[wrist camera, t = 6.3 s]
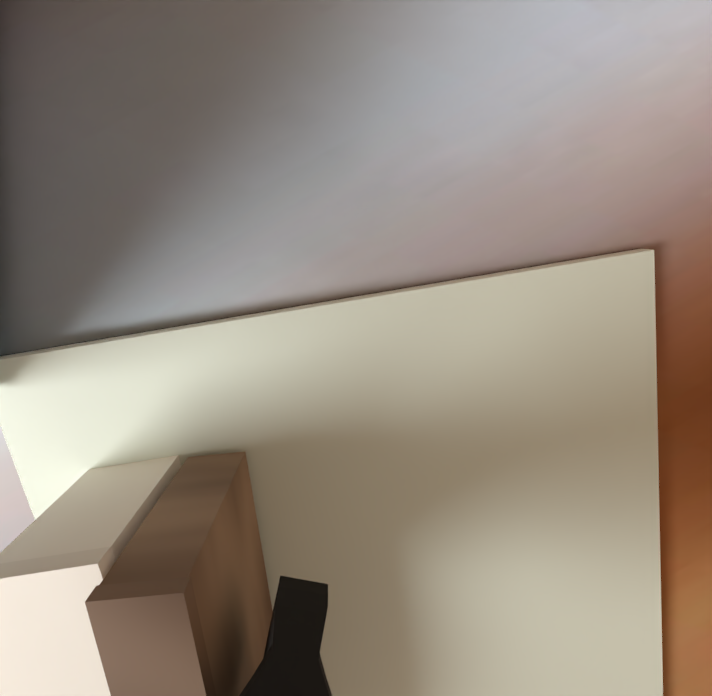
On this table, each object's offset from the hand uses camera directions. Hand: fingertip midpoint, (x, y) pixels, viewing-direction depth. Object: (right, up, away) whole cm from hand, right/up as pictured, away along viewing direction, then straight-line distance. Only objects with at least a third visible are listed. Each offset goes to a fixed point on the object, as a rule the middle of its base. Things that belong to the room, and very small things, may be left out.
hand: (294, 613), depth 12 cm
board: (+2, -3, +4) cm, 5 cm away
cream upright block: (-5, +2, +3) cm, 6 cm away
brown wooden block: (-2, -2, +3) cm, 4 cm away
